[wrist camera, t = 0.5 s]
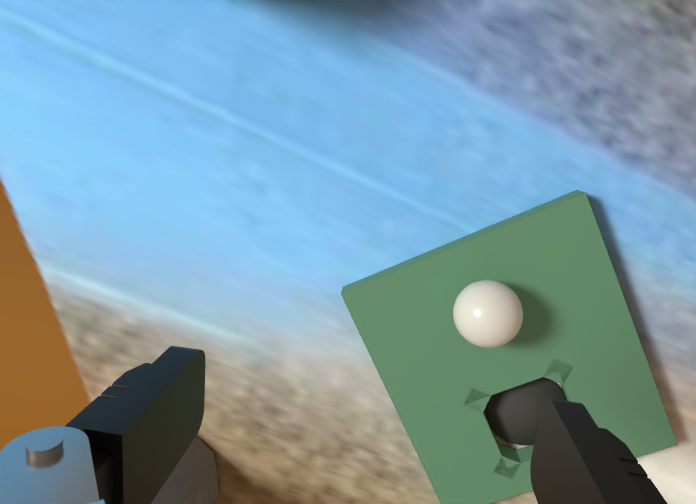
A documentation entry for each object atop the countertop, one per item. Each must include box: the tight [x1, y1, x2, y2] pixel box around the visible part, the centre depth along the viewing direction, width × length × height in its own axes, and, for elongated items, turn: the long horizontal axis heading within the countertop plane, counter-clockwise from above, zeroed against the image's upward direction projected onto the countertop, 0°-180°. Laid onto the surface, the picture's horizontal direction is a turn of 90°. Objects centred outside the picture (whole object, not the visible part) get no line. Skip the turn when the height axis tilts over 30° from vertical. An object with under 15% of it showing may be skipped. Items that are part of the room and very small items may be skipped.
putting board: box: [341, 190, 678, 504], centre depth 34 cm, size 16×18×2 cm
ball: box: [453, 280, 523, 348], centre depth 30 cm, size 4×4×4 cm
